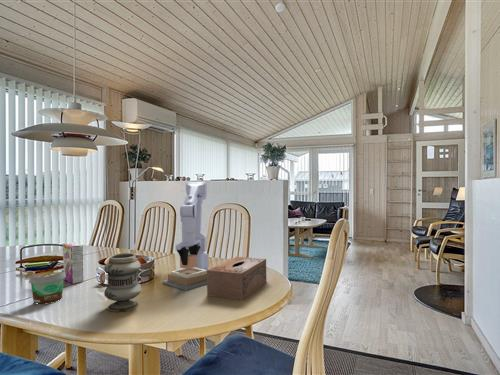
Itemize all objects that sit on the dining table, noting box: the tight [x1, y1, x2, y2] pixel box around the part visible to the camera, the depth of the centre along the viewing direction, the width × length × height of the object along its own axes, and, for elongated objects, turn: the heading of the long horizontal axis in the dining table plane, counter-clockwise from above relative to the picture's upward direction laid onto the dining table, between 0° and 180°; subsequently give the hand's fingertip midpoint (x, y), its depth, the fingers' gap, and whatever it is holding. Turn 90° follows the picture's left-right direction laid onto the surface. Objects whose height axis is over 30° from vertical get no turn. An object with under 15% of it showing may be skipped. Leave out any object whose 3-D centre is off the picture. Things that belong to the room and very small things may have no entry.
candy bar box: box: [62, 242, 84, 285], centre depth 148 cm, size 11×5×16 cm, turn 47°
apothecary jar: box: [103, 252, 142, 313], centre depth 115 cm, size 12×12×18 cm
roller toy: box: [99, 271, 105, 285], centre depth 144 cm, size 4×6×6 cm
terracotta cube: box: [179, 253, 197, 269], centre depth 144 cm, size 5×5×5 cm
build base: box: [162, 267, 207, 291], centre depth 144 cm, size 16×16×5 cm
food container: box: [28, 269, 66, 305], centre depth 122 cm, size 12×6×10 cm, turn 148°
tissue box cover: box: [206, 256, 267, 301], centre depth 135 cm, size 26×14×10 cm, turn 157°
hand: (189, 263), depth 144 cm, fingers closed on terracotta cube, 5 cm apart
